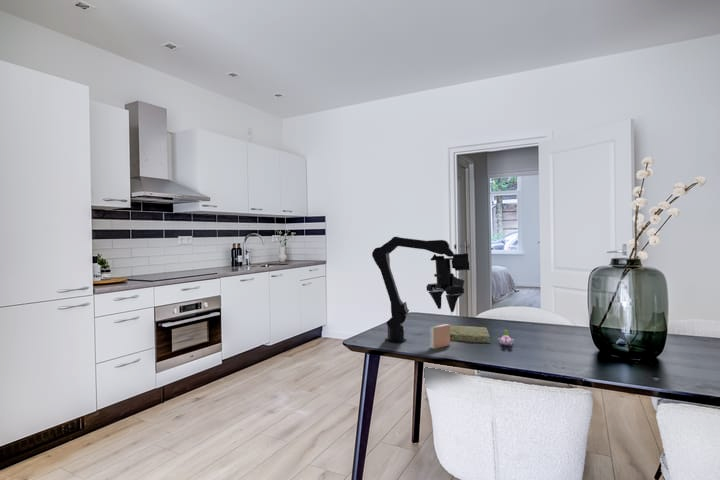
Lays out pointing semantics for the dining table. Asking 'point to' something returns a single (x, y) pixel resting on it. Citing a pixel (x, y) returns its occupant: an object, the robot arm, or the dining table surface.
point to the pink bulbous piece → (506, 339)
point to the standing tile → (440, 336)
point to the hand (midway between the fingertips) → (445, 310)
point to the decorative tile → (469, 334)
